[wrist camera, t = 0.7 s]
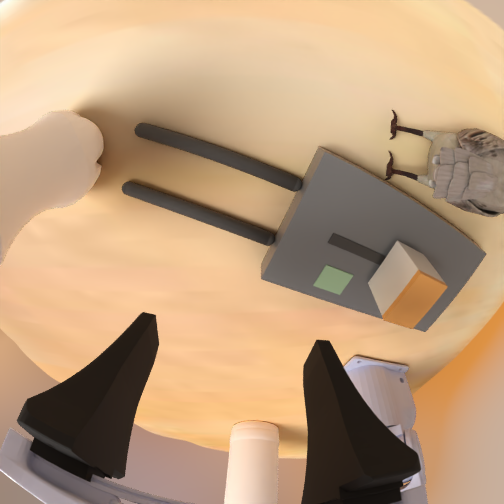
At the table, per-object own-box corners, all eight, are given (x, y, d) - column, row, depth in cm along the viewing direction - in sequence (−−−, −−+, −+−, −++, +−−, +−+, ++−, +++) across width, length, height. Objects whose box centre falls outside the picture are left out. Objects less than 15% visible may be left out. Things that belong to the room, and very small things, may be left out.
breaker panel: (475, 242, 20) (486, 254, 18) (418, 318, 25) (425, 332, 23) (318, 146, 17) (325, 151, 15) (261, 263, 22) (260, 279, 20)
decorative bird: (511, 202, 17) (562, 243, 10) (368, 182, 18) (420, 234, 11) (522, 148, 14) (580, 178, 7) (375, 103, 15) (440, 113, 8)
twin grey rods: (303, 178, 18) (305, 182, 17) (271, 243, 21) (271, 250, 20) (140, 120, 16) (134, 122, 16) (124, 190, 19) (118, 194, 18)
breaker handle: (423, 254, 18) (447, 286, 15) (395, 293, 20) (412, 329, 17) (397, 240, 18) (421, 273, 14) (367, 283, 20) (383, 320, 16)
